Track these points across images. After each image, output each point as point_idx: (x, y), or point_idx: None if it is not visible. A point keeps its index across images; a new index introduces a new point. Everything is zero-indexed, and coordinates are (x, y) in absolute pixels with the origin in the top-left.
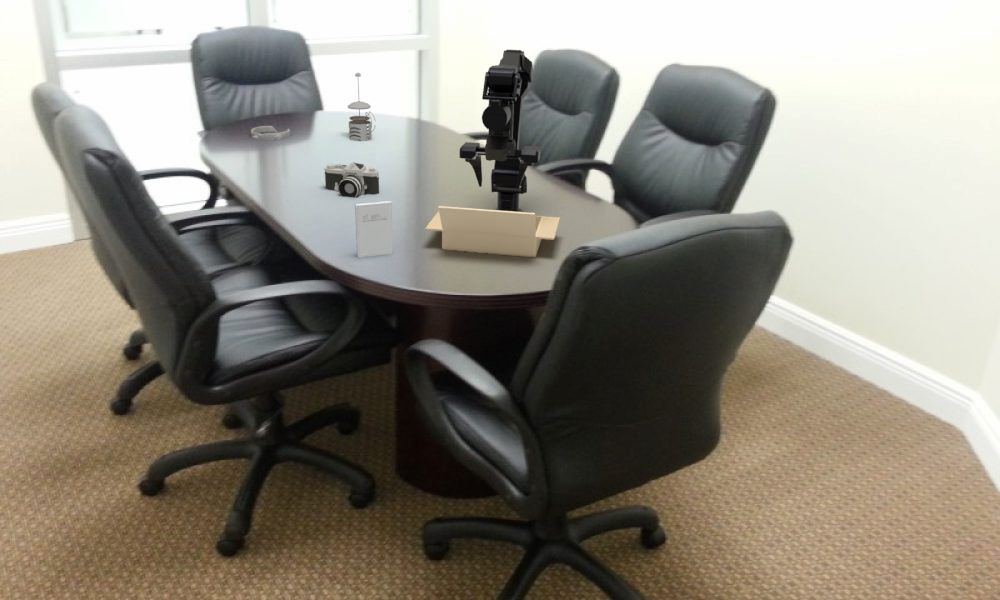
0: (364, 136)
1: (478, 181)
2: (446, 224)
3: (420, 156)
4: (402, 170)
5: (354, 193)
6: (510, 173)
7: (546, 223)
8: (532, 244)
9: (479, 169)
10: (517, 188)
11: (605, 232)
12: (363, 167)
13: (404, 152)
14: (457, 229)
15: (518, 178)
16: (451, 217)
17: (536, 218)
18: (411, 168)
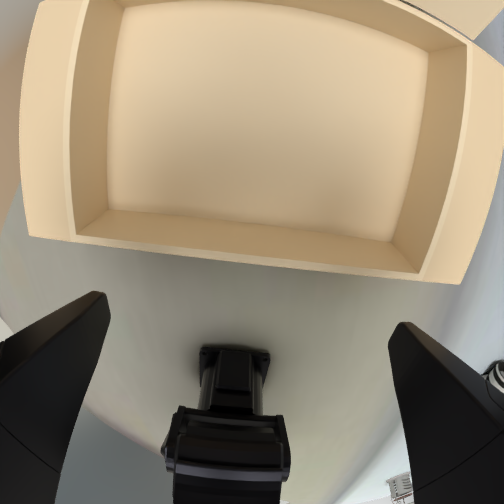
0: (399, 484)
1: (435, 342)
2: (473, 8)
3: (350, 482)
4: (386, 459)
5: (499, 370)
6: (211, 467)
7: (48, 152)
8: None
9: (471, 427)
10: (97, 292)
11: (5, 260)
12: None
13: (364, 482)
14: (428, 3)
15: (41, 343)
16: None
17: (96, 232)
18: (373, 465)
